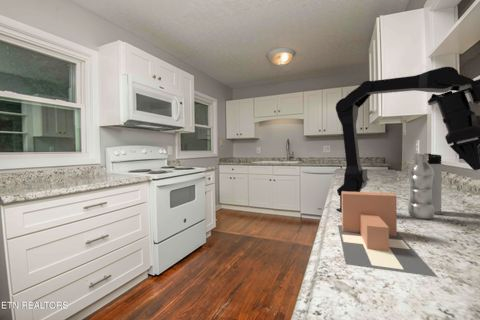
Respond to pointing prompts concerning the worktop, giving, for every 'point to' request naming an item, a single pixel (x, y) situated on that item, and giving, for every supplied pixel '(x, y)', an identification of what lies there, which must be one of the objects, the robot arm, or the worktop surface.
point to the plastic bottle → (421, 188)
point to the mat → (383, 255)
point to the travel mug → (436, 181)
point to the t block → (370, 217)
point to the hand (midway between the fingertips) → (478, 169)
